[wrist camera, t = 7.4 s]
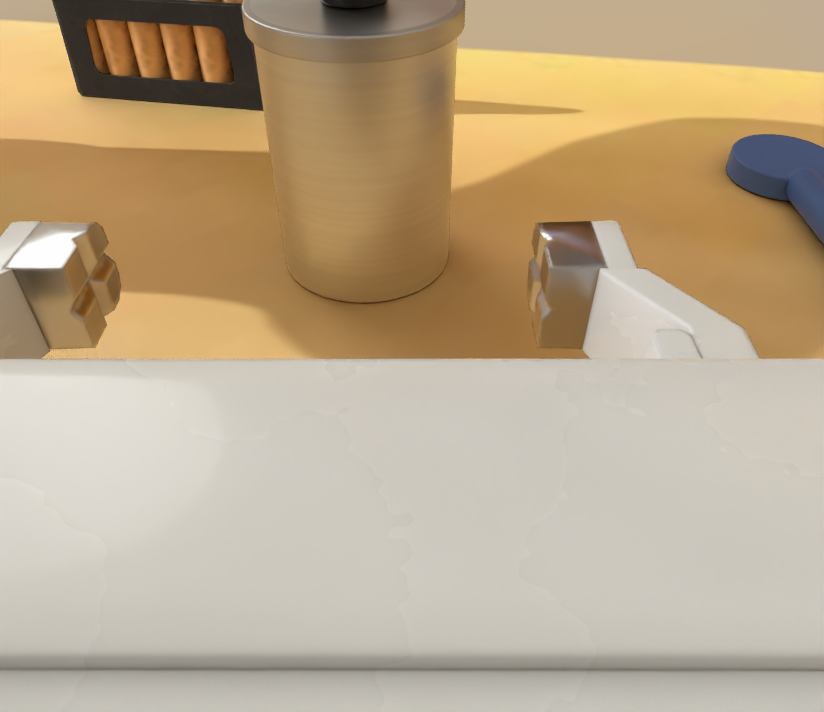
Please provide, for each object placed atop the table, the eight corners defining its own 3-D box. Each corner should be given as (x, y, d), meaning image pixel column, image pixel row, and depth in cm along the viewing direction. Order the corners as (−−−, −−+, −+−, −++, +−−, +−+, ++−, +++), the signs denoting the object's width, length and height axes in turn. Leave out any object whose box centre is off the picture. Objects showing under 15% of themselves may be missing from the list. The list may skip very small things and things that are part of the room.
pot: (268, 306, 24) (211, -13, 17) (292, 208, 29) (254, -73, 22) (457, 306, 24) (474, -14, 17) (450, 208, 29) (461, -73, 22)
